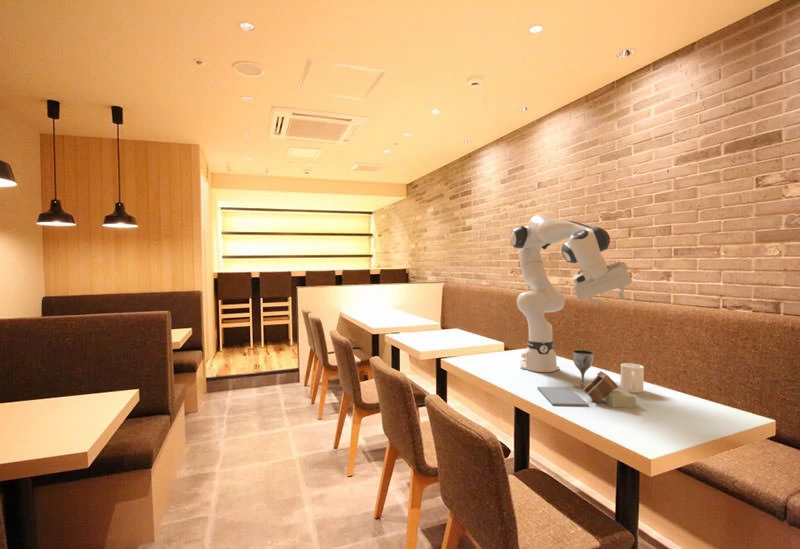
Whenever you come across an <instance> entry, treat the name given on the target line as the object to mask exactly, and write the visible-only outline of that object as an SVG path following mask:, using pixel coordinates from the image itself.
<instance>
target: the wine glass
mask: <svg viewBox="0 0 800 549" xmlns="http://www.w3.org/2000/svg"><path fill="white" fill-rule="evenodd" d="M572 358H573V359H572V360H573V363H574V365H575V367H576V368H577V369H578V371H579V372H580V375H581V377H580V378H581V383H576V384H573V387H574V388H576V389H580V390H583V389H584V388H585V387H586V386H587V385H588V384H585V383H584V379H585V374H586V372H588V370H589V369H590V368H591V367H592V366H593V362H594V352H593V351H592V350H587V349H586V350H585V349H574V350H573V351H572Z"/></svg>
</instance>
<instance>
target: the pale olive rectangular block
mask: <svg viewBox="0 0 800 549" xmlns="http://www.w3.org/2000/svg"><path fill="white" fill-rule="evenodd" d="M636 398H637V396H635V395H634V394H633V393H631V392H628V391H626V390H624V389H623V388H621V386H618V387H617V388H616V389H615V390H614V389H613V390H612V391H611V392H610V393H609V394H608V395H607V396H606V397H604V398H603V399H602V401H604V402H606V403H607V404H608V405H610V406H611V407H614V408H636Z"/></svg>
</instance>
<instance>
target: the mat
mask: <svg viewBox="0 0 800 549" xmlns="http://www.w3.org/2000/svg"><path fill="white" fill-rule="evenodd" d="M537 390H538V391H539V392H540V393H541V394H542V396H543V397H544V398H545V399H546V401H548V402H549V403H550V405H552V406H554V407H555V406H557V407H558V406H561V407H562V406H564V407H565V406H566V407H589V403H588V402H586V400H584V399H583V398H582V397H581V396H580V395H579V394H578V393H577V392H575V391H574V390H573V389H572V388H571V387H568V386H567V387H565V386H537Z"/></svg>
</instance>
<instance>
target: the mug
mask: <svg viewBox="0 0 800 549" xmlns="http://www.w3.org/2000/svg"><path fill="white" fill-rule="evenodd" d="M644 367H645V366H643V365H641V364H637V363H629V362H625V363H620V386H619V387H621V388H623V389H624V390H626V391H628V392H629V393H631V394H633V393H634V394H641V393H643V391H644V383H645V382H644V380H645V379H644V376H645V374H644V372H645V368H644Z"/></svg>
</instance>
